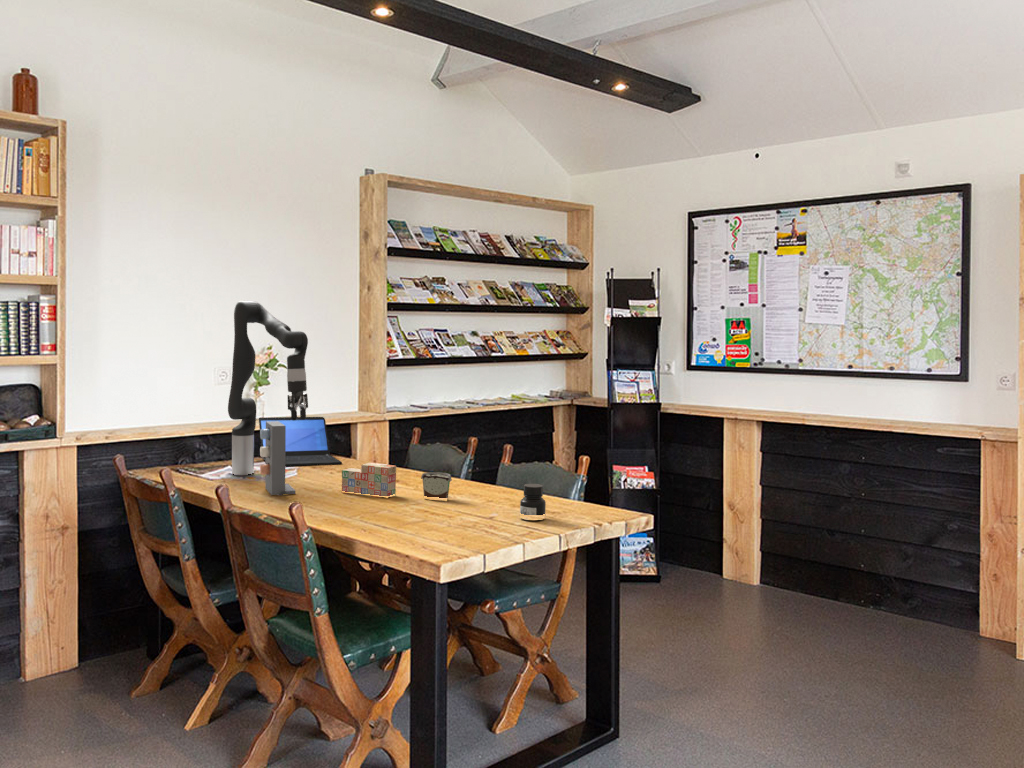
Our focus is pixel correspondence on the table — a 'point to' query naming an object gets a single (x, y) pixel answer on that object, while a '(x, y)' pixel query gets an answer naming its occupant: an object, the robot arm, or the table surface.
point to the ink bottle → (533, 500)
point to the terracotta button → (265, 469)
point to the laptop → (304, 441)
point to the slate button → (265, 433)
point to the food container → (436, 484)
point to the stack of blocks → (370, 479)
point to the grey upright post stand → (277, 460)
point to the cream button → (265, 451)
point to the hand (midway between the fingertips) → (298, 419)
